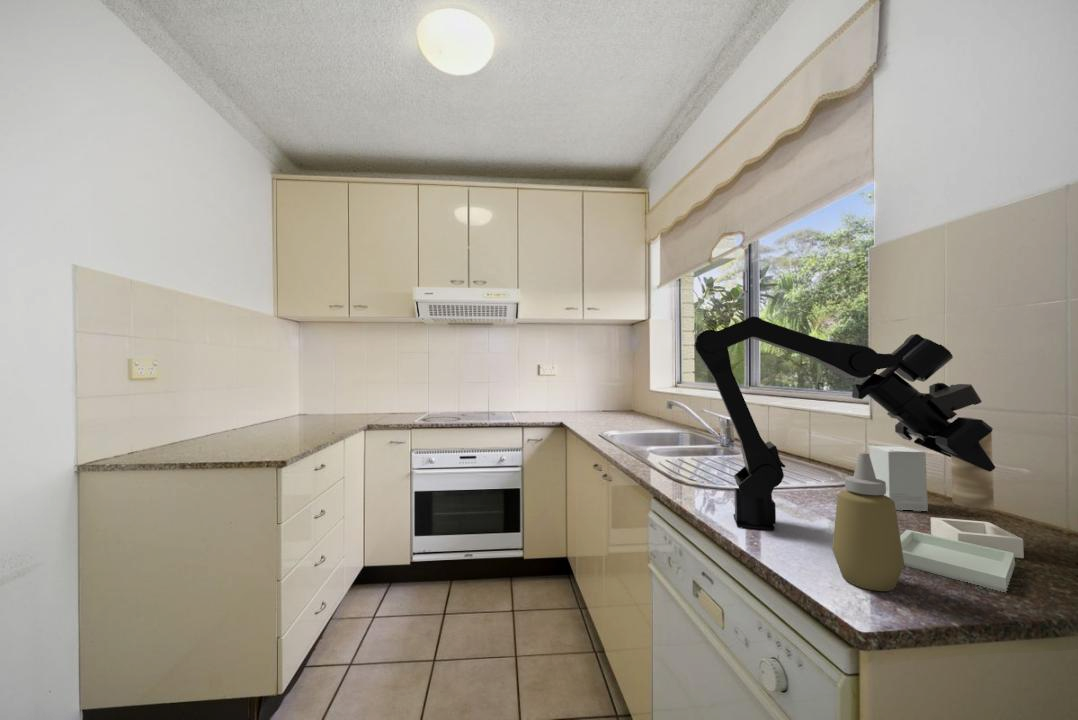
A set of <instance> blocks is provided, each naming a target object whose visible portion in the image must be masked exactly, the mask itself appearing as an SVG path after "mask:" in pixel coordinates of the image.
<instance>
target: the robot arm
mask: <svg viewBox="0 0 1078 720" xmlns="http://www.w3.org/2000/svg"><path fill="white" fill-rule="evenodd" d="M748 339H754V340H756V341H758V342H759V341H760V342H762V343H764V344H768V345H770V346H773V347H777V348H780V349H781V350H785V351H788V352H791V353H795V354H796V355H799V356H802V357H806V358H809V359H811V360H813V361H815V362H817V363H818V364H820V365H821V366H823V367H824V368H826V369H827V370H830V371H832V372H834V373H835V374H837V375H839V376H840V377H841V376H842V377H844V378H850V379H851V378H853V379H855V378H856V379H858V378H859V379H863V378H864V380H863V381H862V382H861V383H859V384H858V383H852V385H851V387H852V392H851V393H852V394H851V397H852V398H853V399H858V400H863V399H864V398H865V397H867V396H869V397H870V398H871V399H872V400H873V401H875V402H876V403H877V404H878V405H879V406H881V407H882V408H883V409H884V410H886V411H887V413H886V414H887V415H888V416H889V417H890V418H891V419H896V420H897V421H898V422H897V423H895V426H894V428H895V429H894V432H895V433H896V434H897V435H898V436H900V437H901V438H902V439H903V440H907V441H909V442H911V441H912V440H913V437H914V438H916V439H914V441H913V443H914V444H916V445H919V446H921V447H923V448H926V449H927V450H931V451H933V452H936V453H938V454H941V455H942V456H943V455H944V456H946V457H949V458H951V456H953V457H956V458H958V459H961V460H963V461H965V462H968V463H970V464H972V465H975V466H977V467H979V468H982V469H984V470H987V471H989V472H991V471H992V470H993V471H994V470H995V469H996V465H995V464H994V463H993V460H992V461H991V460H990V458H989V457H988V455H987V454H986V453H985V451H984V450H983V448H982V446H981V445H980V443H979V441H980V440H982V439H983V438H984V437H985V436H987V435H988V434H989V433H991V434H992V432H993V429H994V428H993V427H992V426H990V425H989V424H988V423H987V422H985V421H984V420H983V419H980V418H979V419H978V418H973V417H957V418H955V419H954V420H953V421H952V422H950V421H949V420H952V419H953V418H954V417H956V416H957V415H958V414H957V412H955V411H957V410H958V411H959V410H961V409H964V408H967V407H969V406H971V405H975V406H976V405H978V404H981V403H983V401H982V399H981V398H980V396H979V394H978V393H977V391H976V390H975V388H974V386H973V385H972V384H970V383H957V384H950V385H947V384H945V383H944V382H936V383H932V384H931V385H929V386H928V387H929V389H928V390H929V392H928V393H925V392H924V393H922V392H920V391H919V390H918V389H916V388H915V387H914V386H913V385H911V384H910V383H909V382H911V383H913V382H915V381H919V382H926V381H927V380H928V379H929V378H931V377H932V376H933V375H935V373H937V371H939V370H940V369H942V368H943V367H944V366H945V365H947V364H948V363H949V362H950V361H951V360H953V359H954V358H953V357H954V355H953V354H952V352H951V351H950V350H949V349H947V348H946V347H945V346H944V345H942V344H939V343H936V342H934V341H933V340H930V339H928V338H925V337H923V336H921V335H920V334H918V333H916V334H914V333H913V334H911V335H909V336H908V337H907V338H906V339H905V340H904V342H903V343H902V344H901V345H899V346H898V347H897V348H895V350H894V351H893V352H891V353H877V351H876V350H874V349H873V348H871V347H869V346H865V345H859V344H855V343H848V342H839V341H831V340H825V339H821V338H818V337H815V336H812V335H809V334H807V333H803V332H801V331H797V330H794V329H791V328H788V327H785V326H781V325H779V324H776V323H773V322H769V321H767V320H764V319H763V318H760V317H759V316H749V317H746V318H745V319H744V320H742V321H739V322H737V323H734V324H731V325H729V326H727V327H724V328H721V329H718V330H716V329H705V330H704V331H702V332H700V333H699V334H698V335H697V337H696V339H695V341H694V343H693V344H694V347H693V348H694V351H695V353H696V354H697V357H699V359H700V361H701V362H702V364H703V365H704V366H705V368H706V369H707V371H708V372H709V374H710V375H711V377H712V378H713V380H714V383H715V385H716V388H717V391H718V392H719V395H720V396H721V400H722V402H723V404H724V407H725V409H726V411H727V413H728V417H730V420H731V422H732V426H733V427H734V430H735V432H736V434H737V436H738V439H739V442H740V448H741V456H742V459H743V464H744V467H742V468H741V469H740V470H739V471H738V472H736V473H735V474H734V476H733V478H734V480H735V482H736V483H735V484H737V486H738V487H737V488H734V490H733V491H734V514H733V520H734V522H735V525H736V526H737V527H739V528H747V529H748V528H749V529H758V530H766V531H767V530H768V531H775V530H776V528H775V527H776V526H774V525H776V524H777V522H776V521H777V512H776V509H777V508H776V502H775V501H774V499H773V491H774V489H775V488H776V487H778V486H779V485H781V484H782V481H783V480H784V476H785V475H784V474H785V473H784V470H783V468H786V465H785V463H783V462H782V460H781V459H780V455H779V451H778V448H777V445H775V444H774V443H773V442H772V441H770V440H769V441H767V442H765V441H764V439H763V438H762V437H761V435H760V432H759V430H758V427H757V426H756V423H755V421H754V418H753V417H752V414H751V412H750V410H749V409H750V408H749V407H748V405H747V402H746V401H745V398H744V395H743V394H742V391H741V388H740V386H739V384H738V382H737V379H736V377H735V375H734V372H733V369H732V363H731V357H730V353H729V349H728V348H730V347H731V346H734V345H737V344H739V343H741V342H744V341H747V340H748ZM883 369H884V370H883ZM877 370H882V371H881V372H880V373H876V372H877ZM908 381H909V382H908ZM912 436H913V437H912Z"/></svg>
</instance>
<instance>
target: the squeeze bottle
mask: <svg viewBox="0 0 1078 720" xmlns="http://www.w3.org/2000/svg"><path fill="white" fill-rule="evenodd" d="M853 472H854V473H853V475H848V476H845V477H844V488H845V490H843V491H841V492H839V493H837V498H836V509H835V519H834V527H833V529H834V530H833V531H834V532H833V539H832V540H833V541H832V552H833V555H834V558H835V561H836V564H837V565H838V566H837V567H838V568H839V571H840V574H841V576H842V578H843V579H844V580H845V581H846V582H848V583H850V584H852V585H853V586H856V587H859V588H862V589H865V590H871V591H876V592H890V591H893V590H894V589H895V588H896V586H897V583H898V580H899V579H900V576H901V573H902V571H903V569H904V567H905V566H904V559H903V553H902V546H901V540H900V536H901V534H900V528H899V527H900V526H899V522H898V521H899V520H898V515H897V510H896V507H895V503H894V501H893V500H892V499H890V498H889V497H887V496H885V495H884V494H886V483H885V482H884V481H882V480H880V479H876V477H875V473H874V470H873V466H872V463H871V459H870V453H867V452H866V453H865V452H858V456H857V460H856V465H855V468H854V471H853Z"/></svg>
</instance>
